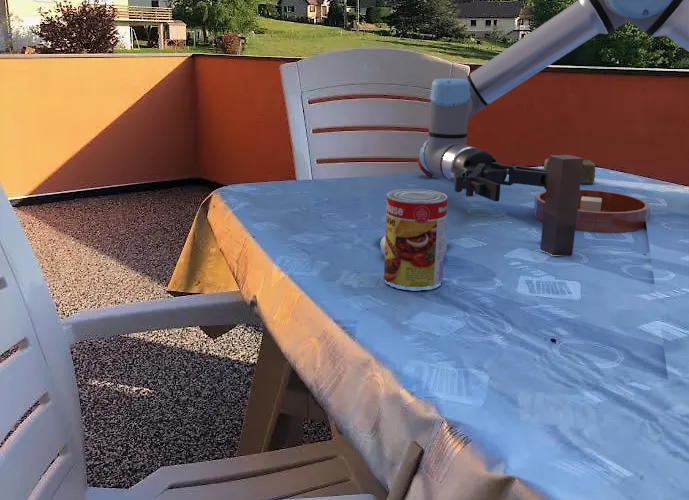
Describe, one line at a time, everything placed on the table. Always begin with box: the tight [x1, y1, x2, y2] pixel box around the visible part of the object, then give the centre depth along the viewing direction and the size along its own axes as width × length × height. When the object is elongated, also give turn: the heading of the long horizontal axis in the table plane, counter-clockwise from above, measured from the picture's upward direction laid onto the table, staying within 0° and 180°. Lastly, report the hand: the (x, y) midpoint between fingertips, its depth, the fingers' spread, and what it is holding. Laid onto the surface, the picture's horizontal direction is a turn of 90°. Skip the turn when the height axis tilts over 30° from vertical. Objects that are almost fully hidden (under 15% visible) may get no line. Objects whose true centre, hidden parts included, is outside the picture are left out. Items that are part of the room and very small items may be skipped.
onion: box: [417, 156, 434, 178], centre depth 167 cm, size 6×6×8 cm
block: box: [580, 196, 602, 212], centre depth 129 cm, size 4×4×4 cm
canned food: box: [383, 188, 448, 287], centre depth 94 cm, size 8×8×12 cm
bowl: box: [533, 188, 651, 234], centre depth 129 cm, size 20×20×4 cm
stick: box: [539, 154, 584, 256], centre depth 108 cm, size 4×4×15 cm
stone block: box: [543, 157, 596, 185], centre depth 165 cm, size 6×12×5 cm, turn 80°
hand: (534, 190), depth 114 cm, fingers open, 13 cm apart
